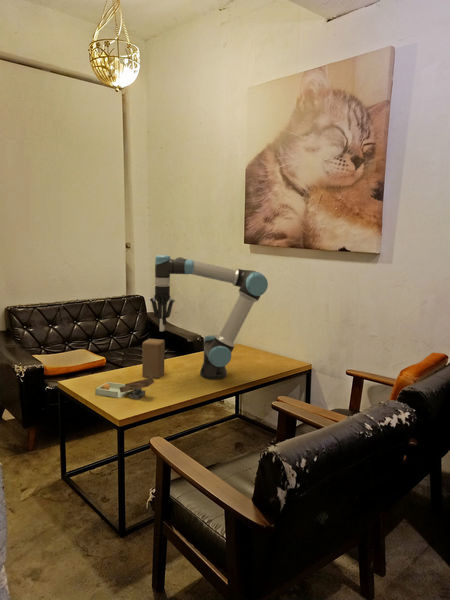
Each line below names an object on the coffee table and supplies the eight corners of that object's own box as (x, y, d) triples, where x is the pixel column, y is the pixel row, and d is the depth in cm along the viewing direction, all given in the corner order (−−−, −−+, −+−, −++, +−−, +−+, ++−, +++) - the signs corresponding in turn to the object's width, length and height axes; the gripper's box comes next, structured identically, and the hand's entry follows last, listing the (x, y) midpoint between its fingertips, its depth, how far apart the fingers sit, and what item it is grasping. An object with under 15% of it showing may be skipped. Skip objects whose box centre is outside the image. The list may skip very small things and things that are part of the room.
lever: (161, 377, 230) (159, 371, 230) (148, 386, 216) (146, 379, 216) (134, 383, 235) (132, 377, 235) (120, 393, 222) (118, 386, 222)
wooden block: (158, 379, 249) (159, 343, 246) (141, 377, 251) (141, 342, 248) (164, 373, 259) (165, 339, 256) (148, 372, 261) (148, 338, 258)
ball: (112, 385, 229) (107, 381, 229) (108, 387, 225) (103, 383, 226) (109, 390, 230) (103, 386, 230) (105, 393, 226) (99, 388, 227)
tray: (131, 391, 230) (131, 385, 230) (120, 398, 220) (120, 392, 219) (107, 387, 234) (107, 381, 234) (95, 394, 224) (95, 388, 223)
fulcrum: (145, 394, 226) (145, 386, 225) (138, 399, 219) (138, 391, 218) (136, 393, 227) (136, 385, 226) (129, 398, 220) (129, 390, 220)
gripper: (177, 285, 233) (176, 330, 237) (154, 283, 237) (153, 328, 241) (171, 287, 226) (170, 333, 230) (147, 285, 230) (147, 331, 234)
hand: (162, 330), depth 235 cm, fingers closed
